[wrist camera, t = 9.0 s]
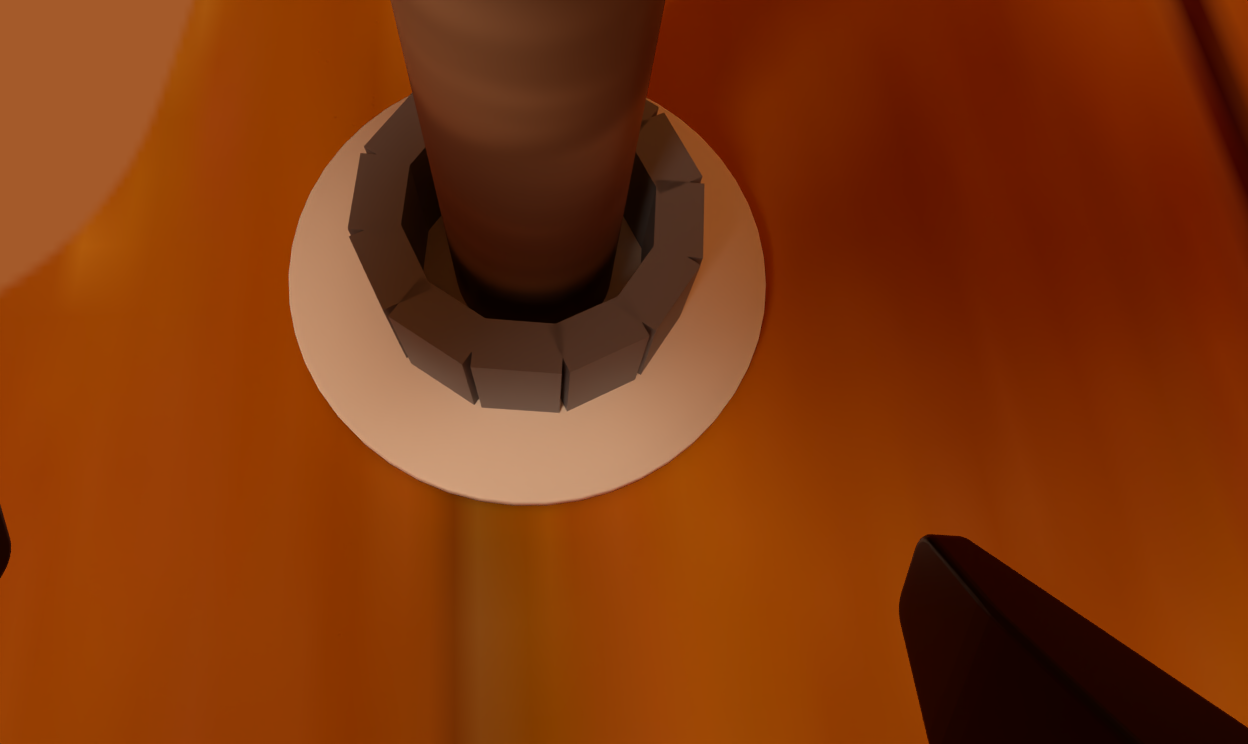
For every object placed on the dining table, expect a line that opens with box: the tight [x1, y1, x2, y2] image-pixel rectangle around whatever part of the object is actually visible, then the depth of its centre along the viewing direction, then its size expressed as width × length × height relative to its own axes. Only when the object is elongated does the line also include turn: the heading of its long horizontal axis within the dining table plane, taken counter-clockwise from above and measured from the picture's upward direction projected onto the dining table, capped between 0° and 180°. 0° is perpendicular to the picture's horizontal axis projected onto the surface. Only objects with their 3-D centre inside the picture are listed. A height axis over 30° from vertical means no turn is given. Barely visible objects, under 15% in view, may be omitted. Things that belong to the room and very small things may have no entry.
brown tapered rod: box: [391, 0, 665, 324], centre depth 12 cm, size 4×4×15 cm
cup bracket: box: [289, 92, 766, 506], centre depth 18 cm, size 11×11×3 cm
